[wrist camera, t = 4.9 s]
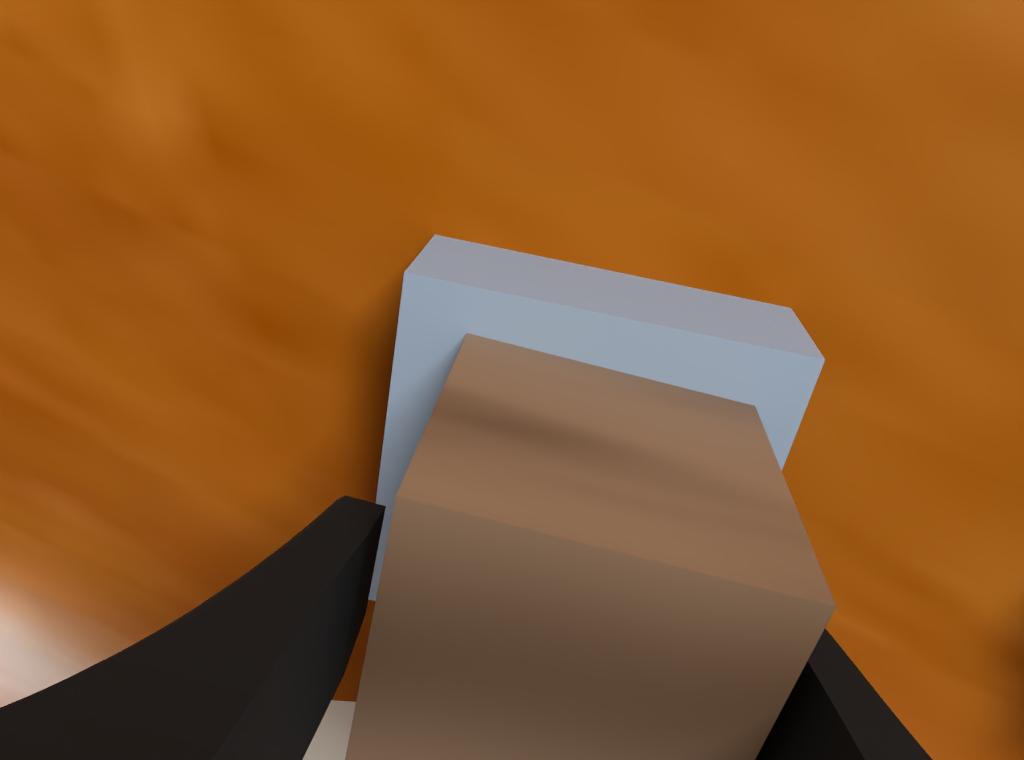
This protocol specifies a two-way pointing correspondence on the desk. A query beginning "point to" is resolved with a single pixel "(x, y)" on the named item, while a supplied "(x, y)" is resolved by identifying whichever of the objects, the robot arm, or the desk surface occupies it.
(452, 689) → the walnut cube
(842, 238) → the desk surface
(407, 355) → the blue slab
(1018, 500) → the desk surface
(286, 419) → the desk surface
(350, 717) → the cream cube
